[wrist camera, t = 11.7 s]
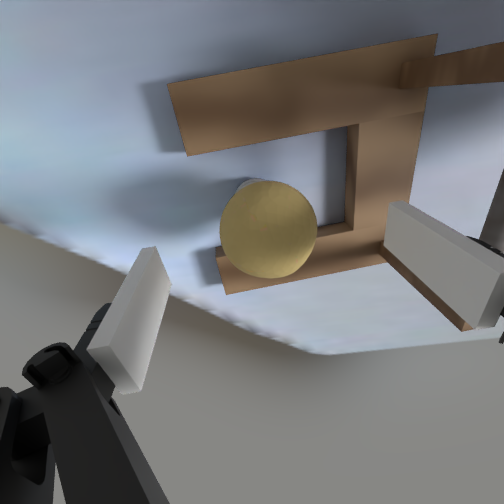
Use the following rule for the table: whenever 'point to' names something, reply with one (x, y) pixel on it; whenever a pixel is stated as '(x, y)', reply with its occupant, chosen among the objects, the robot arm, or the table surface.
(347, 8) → the table surface
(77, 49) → the table surface
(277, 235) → the light bulb
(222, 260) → the wooden rack frame
